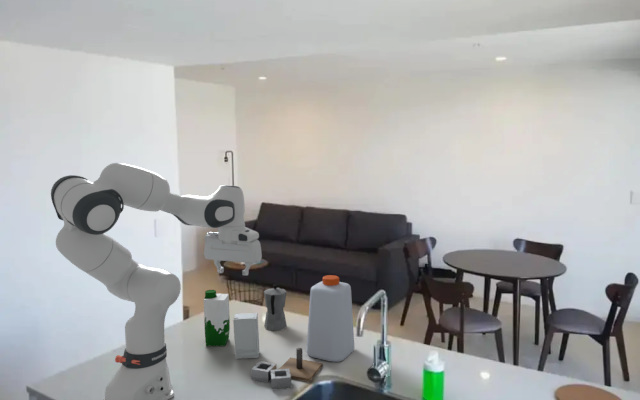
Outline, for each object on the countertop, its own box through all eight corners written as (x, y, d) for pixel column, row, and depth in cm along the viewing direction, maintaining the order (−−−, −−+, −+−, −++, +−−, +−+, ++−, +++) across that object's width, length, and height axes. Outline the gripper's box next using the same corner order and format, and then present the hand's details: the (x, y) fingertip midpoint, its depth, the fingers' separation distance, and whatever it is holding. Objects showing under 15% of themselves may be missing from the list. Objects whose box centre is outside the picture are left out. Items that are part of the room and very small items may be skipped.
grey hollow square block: (268, 382, 154) (268, 372, 153) (251, 379, 156) (251, 368, 156) (276, 374, 159) (276, 364, 159) (260, 371, 162) (260, 361, 161)
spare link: (291, 388, 150) (291, 377, 150) (271, 389, 149) (271, 378, 149) (289, 378, 156) (289, 368, 156) (270, 380, 155) (270, 369, 155)
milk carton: (208, 337, 189) (207, 287, 187) (231, 337, 189) (230, 287, 186) (202, 347, 180) (201, 294, 178) (227, 347, 180) (225, 295, 178)
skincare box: (259, 351, 177) (259, 312, 175) (258, 359, 171) (257, 318, 169) (236, 352, 176) (235, 312, 174) (234, 359, 170) (233, 318, 168)
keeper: (309, 381, 154) (309, 359, 153) (275, 375, 159) (275, 353, 158) (322, 365, 165) (322, 344, 165) (290, 360, 170) (290, 339, 169)
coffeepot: (266, 320, 207) (266, 279, 205) (288, 321, 207) (288, 279, 204) (260, 335, 192) (260, 290, 190) (284, 335, 191) (284, 291, 189)
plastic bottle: (321, 340, 186) (321, 269, 183) (358, 348, 179) (358, 274, 176) (302, 356, 173) (301, 279, 169) (340, 365, 166) (341, 285, 163)
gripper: (199, 233, 162) (200, 273, 164) (254, 237, 155) (255, 279, 157) (209, 229, 168) (211, 268, 170) (263, 233, 161) (264, 274, 163)
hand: (232, 273), depth 163 cm, fingers open, 8 cm apart
